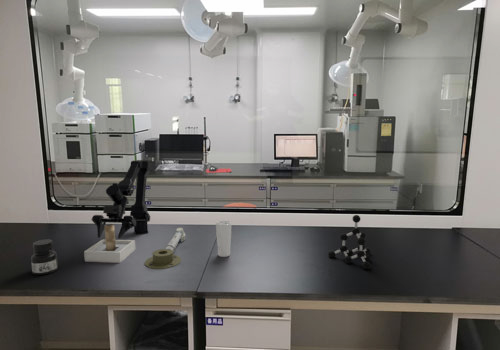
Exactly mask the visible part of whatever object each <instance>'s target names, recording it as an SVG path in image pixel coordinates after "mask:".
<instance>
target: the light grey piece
mask: <svg viewBox="0 0 500 350" xmlns="http://www.w3.org/2000/svg"><path fill="white" fill-rule="evenodd" d="M185 240H186V233H185V231H184V228H183V227H178V228H176V229H175V234H174V235H173V237H172V238H171V239H170V241H169V242H168V244H167V245H165V246H164V249H170V250H172V251H173V253H174V252H176V248H177V246H178V243H181V242H183V241H185Z"/></svg>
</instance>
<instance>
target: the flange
mask: <svg viewBox="0 0 500 350" xmlns="http://www.w3.org/2000/svg"><path fill="white" fill-rule="evenodd" d="M181 262H182V257H180V256H179V255H177V254H174V252H173V251H172V250H170V249H165V248H161V249H157V250H154V251H153V252H152V256H151V257H149V258H147V259H146V260H145V261H144V265H145V266H146V267H147V268H149V269H153V270H164V269H169V268H174V267H177V266H178V265H180V264H181Z"/></svg>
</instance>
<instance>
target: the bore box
mask: <svg viewBox="0 0 500 350" xmlns="http://www.w3.org/2000/svg"><path fill="white" fill-rule="evenodd" d="M115 245H116V250H115V251H106V241H105V239H101V240H99V241H97V243H95V244H93V245H92V246H90V247H89V248H87V249H85V250H84V252H83V253H84V254H83V256H84V262H86V263H89V262H90V263H111V264H113V263H114V264H115V263H116V264H118V263H119V264H120V263H122V262H123V261H124V260H126V258H127V257H128V258H129V256H130V255H131V254H132V253H134V251H136V240H135V239H115Z"/></svg>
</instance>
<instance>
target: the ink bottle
mask: <svg viewBox="0 0 500 350" xmlns="http://www.w3.org/2000/svg"><path fill="white" fill-rule="evenodd" d="M32 251H33V254H32V255H31V257H30V262H31V270H32V271H31V272H32V274H33V275H35V276H43V275H45V276H46V275H48V274H53V273H54V272H56V271H57V270H58V268H59V265H58V264H59V263H58V255H57V252H56V251H55V250H54V242H53V240H52V239H48V238H47V239H40V240H37V241H34V242H33V243H32Z"/></svg>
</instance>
